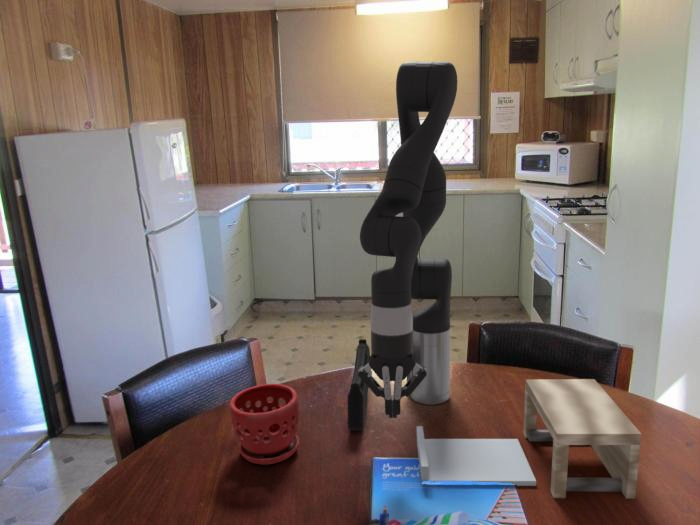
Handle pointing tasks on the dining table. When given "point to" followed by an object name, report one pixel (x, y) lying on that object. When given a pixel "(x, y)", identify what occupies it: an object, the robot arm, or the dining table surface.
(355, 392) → the magazine
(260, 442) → the plant pot
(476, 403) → the dining table surface
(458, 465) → the slab
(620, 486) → the small table
